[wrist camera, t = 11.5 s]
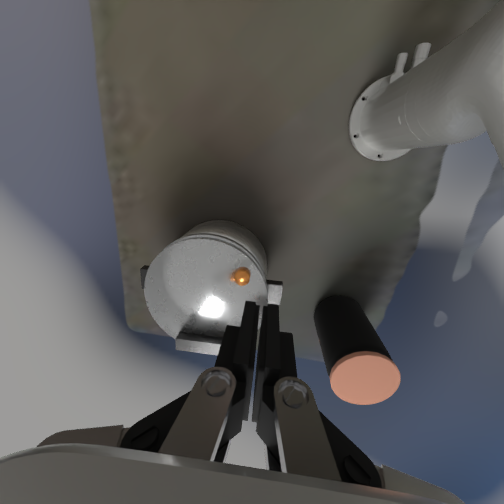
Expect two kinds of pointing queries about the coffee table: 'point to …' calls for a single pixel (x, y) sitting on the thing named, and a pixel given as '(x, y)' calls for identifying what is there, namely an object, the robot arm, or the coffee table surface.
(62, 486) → the robot arm
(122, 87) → the coffee table surface
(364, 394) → the coffee jar
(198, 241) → the cooker lid
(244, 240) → the cooker pot
